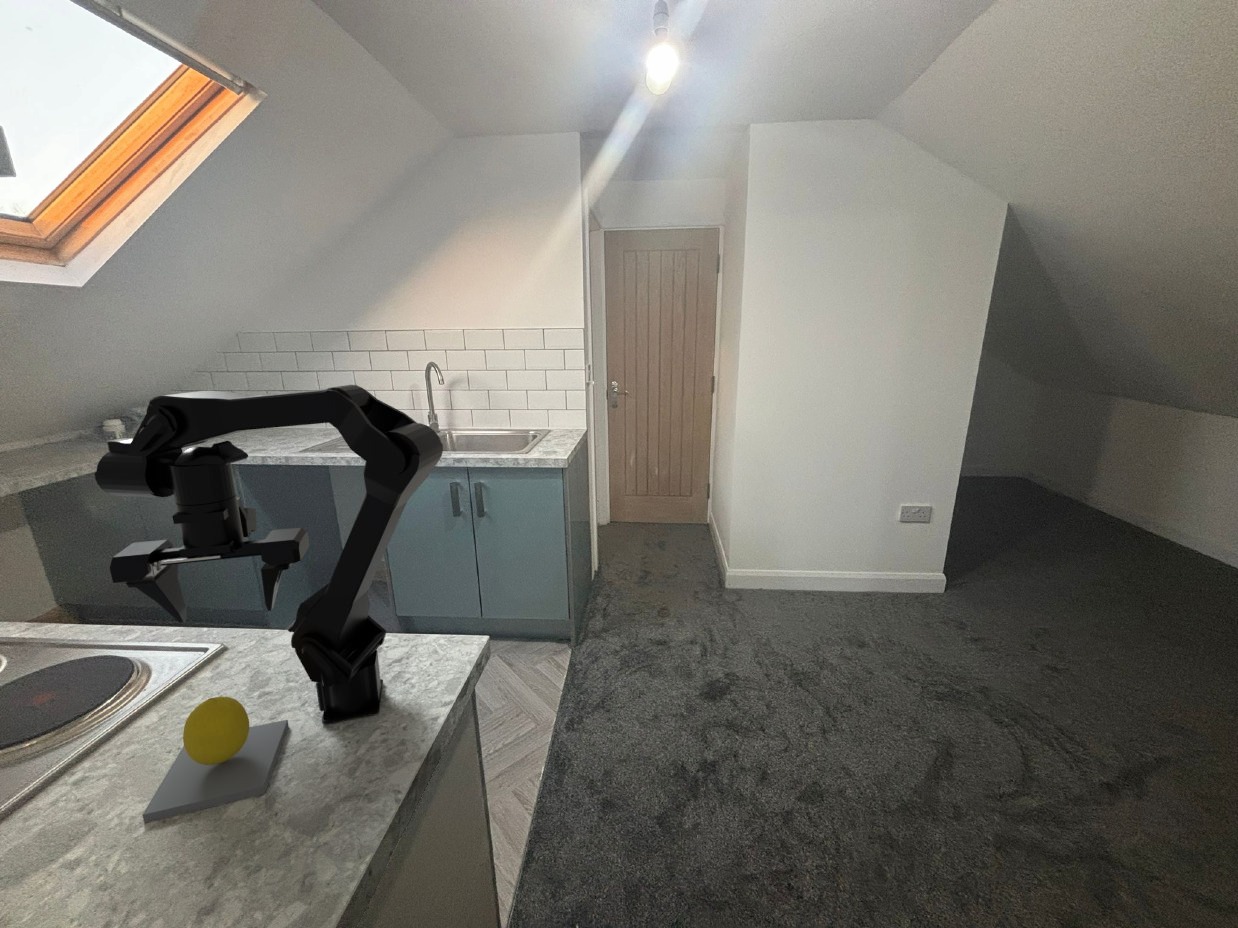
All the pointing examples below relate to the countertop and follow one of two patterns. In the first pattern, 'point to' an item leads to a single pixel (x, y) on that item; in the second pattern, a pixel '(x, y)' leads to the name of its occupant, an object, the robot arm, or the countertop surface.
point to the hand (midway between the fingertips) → (228, 615)
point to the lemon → (215, 730)
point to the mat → (219, 776)
